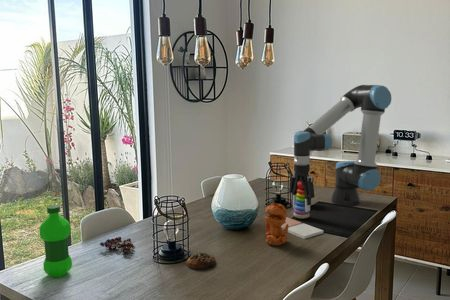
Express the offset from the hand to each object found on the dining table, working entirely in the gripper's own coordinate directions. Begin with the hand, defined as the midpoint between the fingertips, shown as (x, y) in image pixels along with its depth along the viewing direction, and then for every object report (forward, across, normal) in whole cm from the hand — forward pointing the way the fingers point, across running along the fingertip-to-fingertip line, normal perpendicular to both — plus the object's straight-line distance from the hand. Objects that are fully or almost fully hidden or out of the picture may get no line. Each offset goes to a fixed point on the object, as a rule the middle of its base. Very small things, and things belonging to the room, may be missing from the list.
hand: (301, 209), depth 214 cm
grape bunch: (+4, -16, -88) cm, 89 cm away
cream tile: (+4, +15, -13) cm, 21 cm away
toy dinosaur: (+4, +17, -32) cm, 37 cm away
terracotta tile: (+4, +1, -13) cm, 14 cm away
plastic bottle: (+3, -7, -114) cm, 115 cm away
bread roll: (+4, +16, -69) cm, 71 cm away
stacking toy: (+4, 0, 0) cm, 4 cm away
